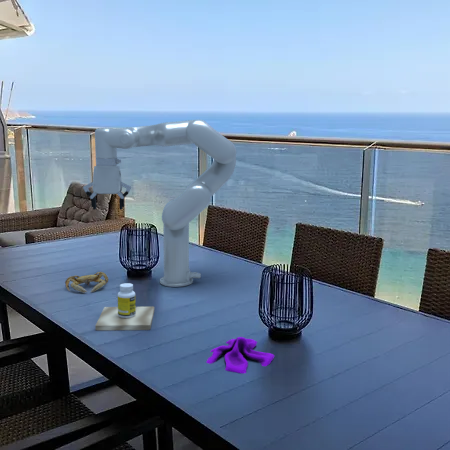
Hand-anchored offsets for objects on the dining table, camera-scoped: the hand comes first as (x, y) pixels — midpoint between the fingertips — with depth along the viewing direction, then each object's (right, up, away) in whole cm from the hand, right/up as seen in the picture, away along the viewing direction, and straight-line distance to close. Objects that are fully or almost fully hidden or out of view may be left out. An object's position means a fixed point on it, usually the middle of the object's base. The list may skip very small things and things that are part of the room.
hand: (107, 209), depth 198 cm
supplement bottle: (+13, -34, -32) cm, 49 cm away
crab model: (-7, -30, -1) cm, 30 cm away
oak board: (+13, -35, -32) cm, 49 cm away
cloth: (+46, -41, -57) cm, 84 cm away
